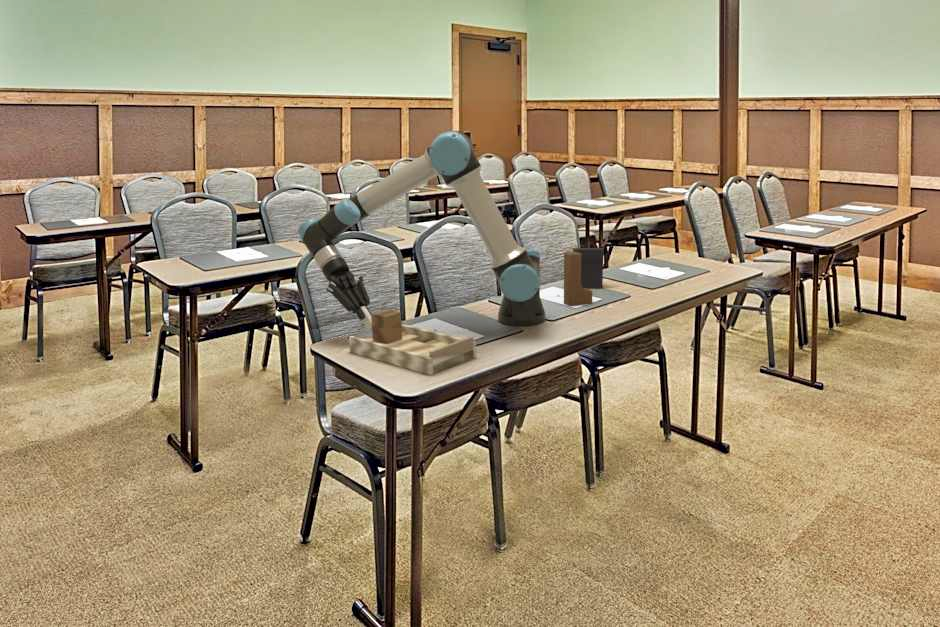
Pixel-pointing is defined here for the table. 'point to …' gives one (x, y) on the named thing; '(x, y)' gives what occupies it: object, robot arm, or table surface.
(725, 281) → the table surface
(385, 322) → the walnut block
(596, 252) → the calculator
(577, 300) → the wooden block
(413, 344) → the box
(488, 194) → the robot arm
